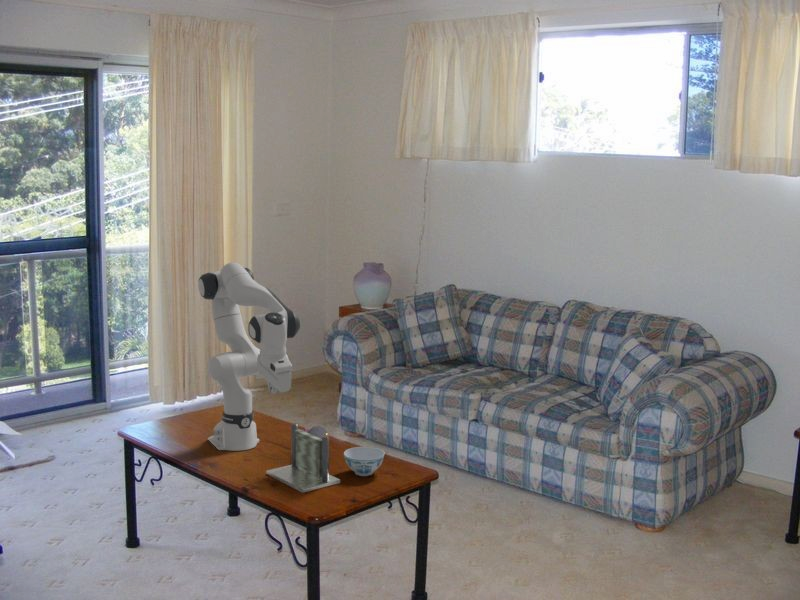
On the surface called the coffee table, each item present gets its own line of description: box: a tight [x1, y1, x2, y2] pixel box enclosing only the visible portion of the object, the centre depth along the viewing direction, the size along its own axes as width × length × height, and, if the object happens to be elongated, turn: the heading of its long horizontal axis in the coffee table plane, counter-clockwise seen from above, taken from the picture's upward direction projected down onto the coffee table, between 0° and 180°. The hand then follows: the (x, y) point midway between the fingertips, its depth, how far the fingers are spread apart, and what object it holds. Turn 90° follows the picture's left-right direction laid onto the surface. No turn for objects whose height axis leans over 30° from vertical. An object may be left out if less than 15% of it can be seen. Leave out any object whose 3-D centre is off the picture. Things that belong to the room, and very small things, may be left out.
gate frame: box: [265, 423, 341, 494], centre depth 313 cm, size 24×16×19 cm, turn 40°
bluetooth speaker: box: [308, 425, 330, 439], centre depth 336 cm, size 23×9×10 cm, turn 4°
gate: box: [295, 428, 322, 478], centre depth 315 cm, size 16×2×14 cm, turn 39°
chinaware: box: [343, 446, 385, 477], centre depth 320 cm, size 15×15×8 cm
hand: (272, 392), depth 312 cm, fingers closed
